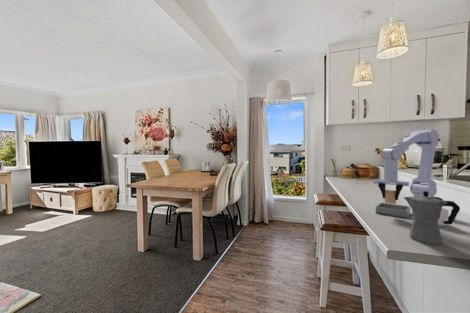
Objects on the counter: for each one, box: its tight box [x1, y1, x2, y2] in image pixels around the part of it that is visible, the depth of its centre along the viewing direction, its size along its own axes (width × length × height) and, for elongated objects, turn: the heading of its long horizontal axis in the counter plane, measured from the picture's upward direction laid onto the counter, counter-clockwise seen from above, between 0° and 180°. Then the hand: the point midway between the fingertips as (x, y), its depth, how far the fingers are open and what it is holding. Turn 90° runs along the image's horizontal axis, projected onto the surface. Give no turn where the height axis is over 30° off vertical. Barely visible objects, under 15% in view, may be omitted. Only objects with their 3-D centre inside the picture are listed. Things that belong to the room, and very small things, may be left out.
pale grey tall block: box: [428, 196, 449, 227], centre depth 97 cm, size 7×7×12 cm
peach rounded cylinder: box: [384, 189, 397, 205], centre depth 107 cm, size 5×5×6 cm
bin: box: [375, 202, 411, 219], centre depth 113 cm, size 13×12×4 cm
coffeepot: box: [403, 191, 461, 246], centre depth 78 cm, size 15×9×18 cm, turn 35°
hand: (390, 198), depth 107 cm, fingers closed on peach rounded cylinder, 5 cm apart
